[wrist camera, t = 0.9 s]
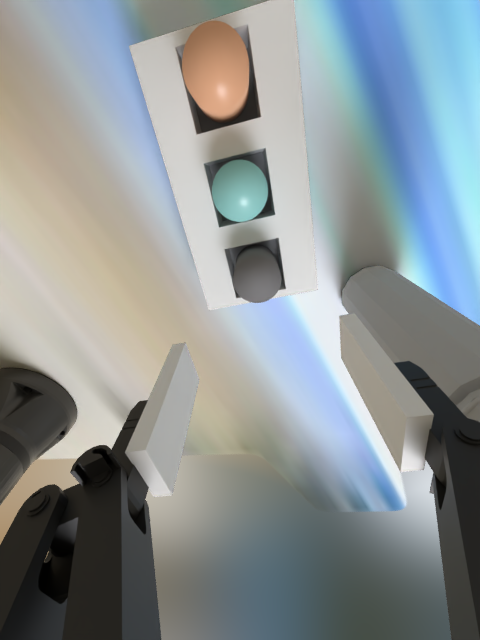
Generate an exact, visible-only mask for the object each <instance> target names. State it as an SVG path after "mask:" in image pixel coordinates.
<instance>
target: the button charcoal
mask: <svg viewBox="0 0 480 640" xmlns="http://www.w3.org/2000/svg"><path fill="white" fill-rule="evenodd" d="M233 284H234V288H235V290H236V292H237V293H238V295H239V296H240V297H241V298H243V299H244V300H246V301H249V302H253V303H261V302H265V301H267V300H269V299H271V298H272V297H274V296H275V295H276V293H277V292H278V290H279V288H280V286H281V273H280V270H279V267H278V265H277V262H276V259H275V256H274V254H273V253H272V251H271V250H270V249H269V248H267V247H265V246H263V245H259V244H254V245H249V246H247V247H245V248H244V249H242V250H241V251H240V253H239V254H238V256H237V258H236V263H235V270H234V278H233Z"/></svg>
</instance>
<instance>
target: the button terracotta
mask: <svg viewBox="0 0 480 640" xmlns="http://www.w3.org/2000/svg"><path fill="white" fill-rule="evenodd" d="M182 71H183V77H184V81H185V84H186V86H187V89H188V90H189V92H190V94H191V95H192V97H193V98H194V100H195V101H196V103H197V104H198V106H199V107H200V108H201V110H202V111H203V113H204V114H205V115H206V116H207V117H208V118H210V119H211V120H213V121H215V122H218V123H227V122H230V121H233V120H234V119H236V118H237V117H238V116H239V115H240V114H241V113H242V111H243V110H244V108H245V106H246V103H247V100H248V94H249V58H248V53H247V50H246V46H245V44H244V42H243V40H242V38H241V37H240V35H239V34H238V33H237V31H236V30H235V29H234V28H232V27H231V26H230V25H228V24H226V23H224V22H221V21H208V22H205V23H203V24H201V25H199V26H198V27H197V28H196V29H195V30H194V31H193V32H192V33H191V34H190V36H189V38H188V40H187V42H186V44H185V47H184V51H183V57H182Z"/></svg>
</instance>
